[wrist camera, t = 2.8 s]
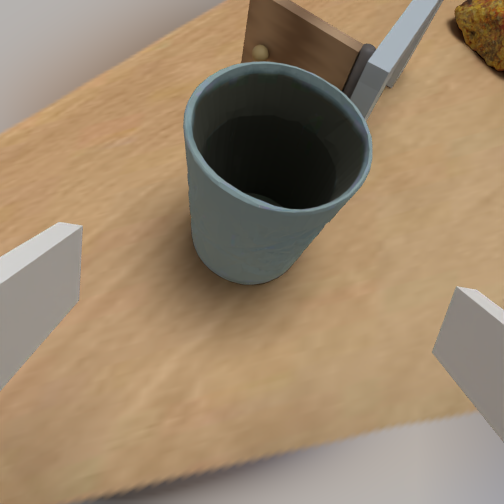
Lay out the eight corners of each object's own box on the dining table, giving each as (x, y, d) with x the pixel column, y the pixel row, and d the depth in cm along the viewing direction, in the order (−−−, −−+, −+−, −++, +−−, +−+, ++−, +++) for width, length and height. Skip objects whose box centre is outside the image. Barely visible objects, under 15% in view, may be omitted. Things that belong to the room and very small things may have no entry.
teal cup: (178, 186, 33) (173, 60, 22) (296, 177, 35) (344, 58, 24) (194, 304, 29) (198, 220, 18) (327, 286, 31) (401, 201, 20)
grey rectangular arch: (330, 181, 35) (389, 72, 25) (315, 173, 35) (367, 61, 25) (403, 69, 43) (470, -49, 33) (391, 63, 43) (454, -57, 33)
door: (335, 137, 37) (378, 48, 29) (323, 151, 36) (363, 63, 28) (244, 78, 39) (260, -23, 31) (230, 90, 38) (242, -10, 30)
